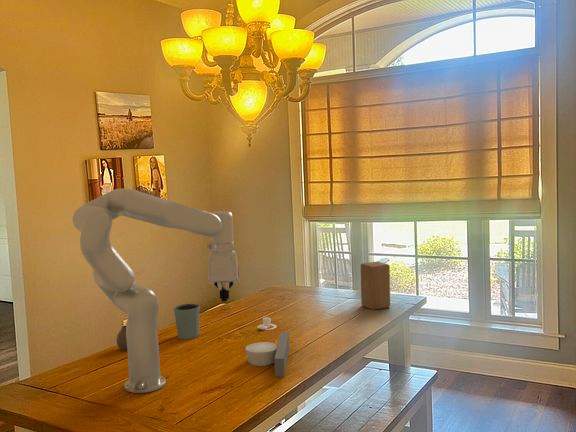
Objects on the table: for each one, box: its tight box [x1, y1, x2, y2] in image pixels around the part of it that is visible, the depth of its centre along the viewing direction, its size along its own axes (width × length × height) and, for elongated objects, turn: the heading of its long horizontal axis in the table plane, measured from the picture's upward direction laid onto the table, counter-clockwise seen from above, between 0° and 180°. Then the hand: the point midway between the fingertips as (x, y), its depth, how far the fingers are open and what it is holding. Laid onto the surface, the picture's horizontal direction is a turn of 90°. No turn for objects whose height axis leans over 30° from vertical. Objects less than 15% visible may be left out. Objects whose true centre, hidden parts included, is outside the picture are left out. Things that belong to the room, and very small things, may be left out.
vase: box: [116, 325, 127, 351], centre depth 217 cm, size 7×7×9 cm
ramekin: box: [244, 341, 278, 367], centre depth 199 cm, size 11×11×5 cm
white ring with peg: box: [257, 316, 278, 331], centre depth 239 cm, size 9×8×4 cm
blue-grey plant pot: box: [173, 303, 201, 340], centre depth 230 cm, size 10×10×12 cm
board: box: [274, 331, 290, 378], centre depth 198 cm, size 28×3×6 cm, turn 176°
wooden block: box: [360, 261, 391, 311], centre depth 264 cm, size 10×10×20 cm
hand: (224, 300), depth 198 cm, fingers closed
